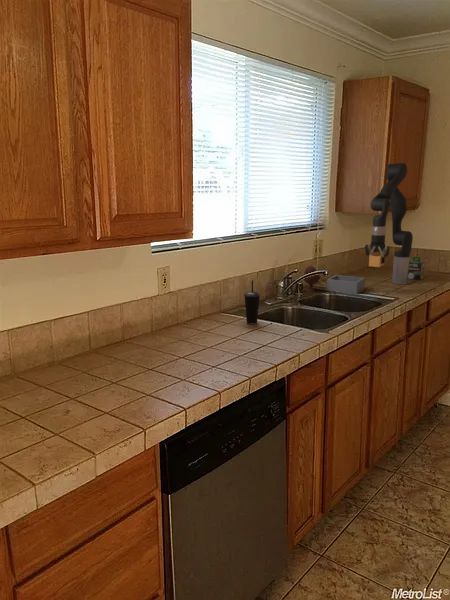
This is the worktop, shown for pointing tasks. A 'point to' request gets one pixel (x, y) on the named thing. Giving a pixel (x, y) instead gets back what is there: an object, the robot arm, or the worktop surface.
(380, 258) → the orange crate
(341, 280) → the charcoal crate
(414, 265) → the chalk box
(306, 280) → the ice cream bowl
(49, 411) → the worktop surface
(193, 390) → the worktop surface
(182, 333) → the worktop surface
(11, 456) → the worktop surface
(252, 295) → the drinking cup
